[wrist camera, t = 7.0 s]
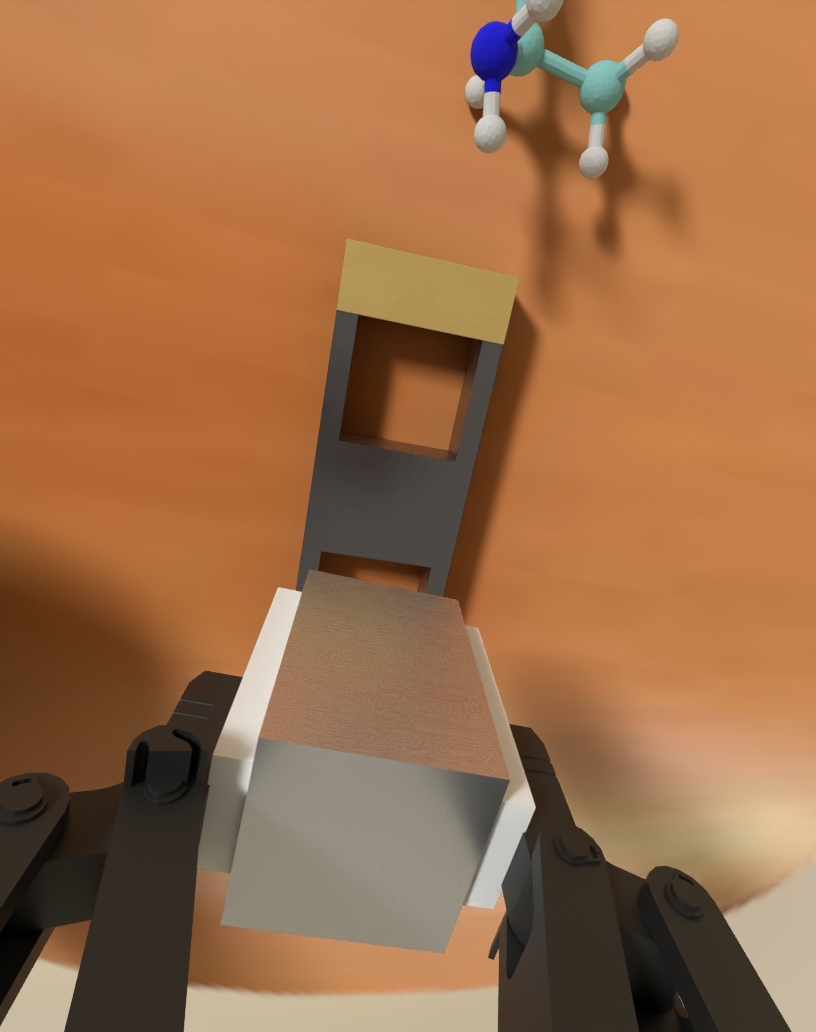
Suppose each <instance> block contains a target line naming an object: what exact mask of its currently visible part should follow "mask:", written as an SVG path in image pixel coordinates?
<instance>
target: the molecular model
mask: <svg viewBox="0 0 816 1032" xmlns="http://www.w3.org/2000/svg"><path fill="white" fill-rule="evenodd" d="M563 1H564V0H516V12H515V16H514V17H513V18H512V20H511V21H510V22H509V23H508V24H505V23H502V22H497V21H495V22H490V23H488V24H486V25H485V26H484V27H482V28H481V29H480V30H479V32H478V33H477V35H476V37H475V38H474V40H473V42H472V47H471V64H472V67H473V70H474V72H475V73H476V74H477V75H475V76H473V77H472V78H471V79H470V80H469V82H468V83H467V85H466V89H465V98H466V101H467V103H468V104H469V105H470V106H471V107H472V108H475V109H481V108H483V117H482V118H481V119H480V120H479V122H478V123H477V125H476V127H475V132H474V139H475V143H476V146H477V147H478V148H479V149H480V150H481V151H482V152H485V153H493V152H495V151H497V150H499V149H500V148H501V146H502V145H503V144H504V142H505V138H506V134H507V133H506V126H505V123H504V121H503V120H502V119H501V118H500V117H499V113H500V95H501V81H502V80H503V79H504V78H506V77H507V76H508V75H509V74H510V75H512V76H524V75H526V74H528V73H530V72H531V71H532V70H533V69H535V67H538V68H540V69H542V70H544V71H546V72H548V73H551V74H553V75H555V76H557V77H559V78H561V79H563V80H565V81H567V82H569V83H571V84H573V85H575V86H577V87H579V99H580V103H581V105H582V107H583V108H584V109H585V110H586V111H587V112H588V113H590V114H591V124H590V134H589V144H588V149H587V150H586V151H585V152H584V153H583V154H582V156H581V158H580V161H579V168H580V172H581V173H582V174H583V176H584V177H586V178H589V179H594V178H597V177H599V176H600V175H602V174H603V172H604V171H605V170H606V168H607V166H608V161H609V158H608V154H607V152H606V150H605V149H604V148H603V140H604V131H605V122H606V113H607V112H609V111H610V110H612V109H613V108H615V106H616V105H617V104H618V102H619V101H620V99H621V98H622V95H623V92H624V89H625V84H626V78H628V77H629V76H630V75H631V74H633V73H634V72H635V71H636V70H638V69H639V68H640V67H641V66H643V65H644V64H645V63H646V62H648V61H649V60H652V61H661V60H663V59H665V58H666V57H667V56H669V55H670V54H671V52H672V51H673V50H674V48H675V47H676V44H677V42H678V28H677V25H676V24H675V23H674V22H673V21H672V20H670V19H661V20H659V21H657V22H655V23H654V24H653V25H652V26H651V27H650V28H649V29H648V31H647V32H646V35H645V37H644V41H643V44H642V45H641V46H640V47H638V48H637V49H636V50H635V51H634V52H632V53H631V54H630V55H629V56H628V57H626V58H625V59H624V60H623V61H622V62H620V63H619V64H617V63H616V62H614V61H611V60H601V61H599V62H597V63H595V64H593V65H592V66H591V67H590V68H589V69H588V70H586V69H584V68H582V67H580V66H578V65H576V64H574V63H572V62H570V61H568V60H566V59H564V58H562V57H560V56H558V55H556V54H554V53H552V52H550V51H548V50H546V49H544V37H543V33H542V30H541V28H540V26H539V25H538V24H537V23H536V22H540V23H542V22H547V21H550V20H551V19H553V18H554V17H555V16H556V15H557V13H558V12H559V10H560V9H561V7H562V4H563Z"/></svg>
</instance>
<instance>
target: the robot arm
mask: <svg viewBox="0 0 816 1032" xmlns="http://www.w3.org/2000/svg"><path fill="white" fill-rule="evenodd" d="M301 594H302V592H299V591H295V590H290V589H285V588H280V587H278V589H277V592H276V594H275V597H274V599H273V602H272V604H271V607H270V610H269V612H268V615H267V617H266V620H265V622H264V625H263V627H262V630H261V633H260V635H259V638H258V640H257V643H256V645H255V648H254V650H253V653H252V656H251V658H250V661H249V663H248V666H247V668H246V671H245V673H244V676H243V677H238V676H232V675H227V674H221V673H216V672H210V671H204V672H203V673H202V674H200V675H199V676H198V677H196V678H195V679H193V680H192V681H191V682H189V684H188V686H187V688H186V690H185V692H184V694H183V695H182V697H181V700H180V701H179V703H178V705H177V707H176V708H175V710H174V714H172V716H171V718H170V720H169V722H168V723H167V725H162V726H157V727H154V728H152V729H149V730H147V731H144V732H143V733H142V734H141V735H139V736H138V737H137V738H136V739H134V740H133V742H132V744H131V746H130V747H129V749H128V751H127V760H126V769H125V777H124V782H123V783H120V784H118V785H115V786H112V787H109V788H104V789H99V790H92V791H83V792H74V793H69V787H68V785H67V784H66V783H65V782H64V781H63V780H62V779H61V778H59V777H56V776H53V775H50V774H48V773H27V774H22V775H18V776H14V777H10V778H8V779H6V780H4V781H2V782H0V1026H1V1024H2V1022H3V1020H4V1018H5V1017H6V1015H7V1013H8V1011H9V1009H10V1007H11V1006H12V1004H13V1002H14V1000H15V998H16V997H17V995H18V993H19V991H20V989H21V988H22V986H23V984H24V982H25V980H26V979H27V977H28V975H29V973H30V971H31V969H32V968H33V966H34V964H35V962H36V961H37V959H38V957H39V955H40V953H41V952H42V950H43V948H44V946H45V944H46V943H47V941H48V939H49V937H50V935H51V933H52V932H53V930H54V928H55V927H57V926H62V925H67V924H72V923H77V922H82V921H87V920H91V923H90V928H89V932H88V936H87V940H86V944H85V948H84V952H83V956H82V961H81V965H80V969H79V973H78V977H77V981H76V985H75V989H74V994H73V998H72V1002H71V1006H70V1010H69V1014H68V1018H67V1022H66V1027H65V1031H64V1032H184V1019H185V1007H186V996H187V984H188V971H189V959H190V947H191V935H192V922H193V910H194V898H195V886H196V873H197V869H203V870H211V871H218V872H225V873H231V869H232V864H233V859H234V854H235V849H236V845H237V840H238V835H239V830H240V825H241V820H242V815H243V810H244V805H245V800H246V795H247V791H248V786H249V781H250V776H251V771H252V766H253V761H254V756H255V751H256V746H257V741H258V737H259V734H260V730H261V727H262V724H263V720H264V717H265V714H266V710H267V707H268V704H269V700H270V697H271V694H272V690H273V687H274V684H275V680H276V677H277V674H278V671H279V667H280V664H281V661H282V657H283V654H284V651H285V647H286V644H287V641H288V637H289V634H290V631H291V627H292V624H293V621H294V617H295V614H296V611H297V607H298V604H299V601H300V598H301ZM465 626H466V629H467V633H468V636H469V640H470V643H471V647H472V650H473V653H474V657H475V660H476V664H477V667H478V671H479V674H480V678H481V681H482V684H483V688H484V691H485V695H486V698H487V702H488V705H489V709H490V712H491V715H492V719H493V722H494V726H495V729H496V733H497V736H498V740H499V743H500V746H501V750H502V753H503V757H504V760H505V764H506V767H507V771H508V774H509V777H510V782H509V785H508V787H507V790H506V793H505V795H504V798H503V800H502V803H501V806H500V808H499V811H498V813H497V816H496V819H495V821H494V824H493V827H492V829H491V832H490V834H489V837H488V840H487V842H486V845H485V847H484V850H483V853H482V855H481V858H480V861H479V863H478V866H477V868H476V871H475V874H474V876H473V879H472V881H471V884H470V887H469V889H468V892H467V894H466V897H465V900H464V902H463V905H467V906H475V907H482V908H489V909H494V907H495V904H496V902H497V899H498V897H499V895H500V892H501V890H502V891H503V895H504V900H505V905H506V909H507V910H506V912H505V915H504V917H503V919H502V922H501V924H500V926H499V929H498V931H497V933H496V936H495V938H494V940H493V943H492V945H491V948H490V952H489V956H488V958H490V959H493V960H494V958H495V955H496V953H497V951H498V949H499V996H498V998H499V999H498V1032H791V1030H790V1028H789V1027H788V1025H787V1023H786V1022H785V1020H784V1018H783V1017H782V1015H781V1013H780V1012H779V1010H778V1008H777V1006H776V1005H775V1003H774V1001H773V1000H772V998H771V996H770V995H769V993H768V991H767V990H766V988H765V986H764V985H763V983H762V981H761V979H760V978H759V976H758V974H757V972H756V971H755V969H754V967H753V966H752V964H751V962H750V961H749V959H748V957H747V956H746V954H745V952H744V950H743V949H742V947H741V945H740V944H739V942H738V940H737V939H736V937H735V935H734V934H733V932H732V930H731V928H730V927H729V925H728V924H727V922H726V920H725V918H724V917H723V915H722V913H721V911H720V910H719V908H718V906H717V905H716V903H715V902H714V900H713V899H712V898H711V896H710V895H709V894H708V892H707V891H706V890H705V889H704V888H703V887H702V886H701V885H700V884H699V883H697V882H696V881H695V880H694V879H693V878H692V877H690V876H688V875H687V874H685V873H683V872H682V871H680V870H677V869H674V868H671V867H668V866H660V867H655V868H654V869H653V870H652V871H650V872H649V874H648V876H647V878H646V880H645V879H643V878H641V877H638V876H636V875H634V874H632V873H629V872H627V871H625V870H623V869H620V868H618V867H616V866H614V865H612V864H611V863H609V862H607V861H606V860H605V858H604V855H603V853H602V850H601V849H600V847H599V846H598V845H597V843H596V842H595V841H594V839H593V838H592V837H590V836H589V835H588V834H587V833H586V832H584V831H583V830H582V829H580V828H578V827H576V825H575V822H574V820H573V817H572V815H571V812H570V810H569V807H568V805H567V802H566V799H565V797H564V794H563V792H562V789H561V787H560V784H559V781H558V779H557V778H556V777H555V775H556V774H555V771H554V769H553V766H552V764H550V758H549V756H548V753H547V751H546V748H545V746H544V743H543V742H542V741H541V740H540V739H539V738H538V736H537V735H536V734H535V733H534V732H533V730H532V729H531V728H528V727H522V726H517V725H511V724H509V723H508V719H507V716H506V713H505V710H504V707H503V704H502V701H501V698H500V695H499V691H498V688H497V685H496V682H495V679H494V676H493V673H492V670H491V667H490V663H489V660H488V657H487V654H486V651H485V648H484V645H483V642H482V639H481V636H480V632H479V629H478V628H477V627H472V626H468V625H465ZM679 996H680V997H679ZM680 998H681V1000H682V1002H683V1004H682V1002H681V1000H680ZM683 1005H684V1006H683ZM684 1007H685V1008H684ZM685 1009H686V1010H685Z"/></svg>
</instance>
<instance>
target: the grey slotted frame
mask: <svg viewBox="0 0 816 1032" xmlns="http://www.w3.org/2000/svg"><path fill="white" fill-rule="evenodd" d="M519 278H520V277H515V276H511V275H506V274H502V273H497V272H493V271H489V270H484V269H480V268H475V267H471V266H466V265H462V264H458V263H453V262H449V261H444V260H440V259H435V258H431V257H427V256H422V255H418V254H413V253H409V252H404V251H400V250H396V249H391V248H387V247H382V246H378V245H374V244H369V243H365V242H360V241H356V240H351V239H347V242H346V248H345V255H344V262H343V269H342V276H341V283H340V290H339V297H338V304H337V311H336V318H335V325H334V332H333V339H332V346H331V353H330V360H329V366H328V373H327V380H326V387H325V394H324V401H323V408H322V415H321V422H320V428H319V435H318V442H317V449H316V456H315V463H314V470H313V477H312V484H311V491H310V497H309V504H308V511H307V518H306V525H305V532H304V539H303V546H302V553H301V559H300V566H299V573H298V580H297V587H296V591H299V592H302V591H303V588H304V584H305V581H306V578H307V574H308V571H309V569H311V570H316V571H319V565H320V558H321V552H322V551H323V552H330V553H336V554H343V555H350V556H356V557H363V558H370V559H377V560H383V561H390V562H397V563H403V564H410V565H417V566H423V568H422V573H421V577H420V582H419V586H418V591H417V592H422V593H427V594H432V595H437V596H441V597H443V594H444V590H445V586H446V582H447V578H448V573H449V569H450V565H451V561H452V557H453V552H454V548H455V544H456V540H457V536H458V531H459V527H460V523H461V519H462V515H463V511H464V506H465V502H466V498H467V494H468V490H469V485H470V481H471V477H472V473H473V469H474V464H475V460H476V456H477V452H478V448H479V443H480V439H481V435H482V431H483V427H484V422H485V418H486V414H487V410H488V406H489V402H490V397H491V393H492V389H493V385H494V381H495V376H496V372H497V368H498V364H499V360H500V355H501V351H502V347H503V344H504V341H505V337H506V332H507V328H508V324H509V320H510V316H511V311H512V307H513V303H514V299H515V295H516V291H517V286H518V282H519ZM359 315H360V316H365V317H370V318H375V319H380V320H384V321H389V322H394V323H399V324H404V325H409V326H413V327H418V328H423V329H428V330H433V331H437V332H442V333H447V334H452V335H457V336H461V337H466V338H471V339H473V342H472V347H471V351H470V356H469V360H468V365H467V369H466V374H465V378H464V383H463V387H462V392H461V397H460V401H459V406H458V410H457V415H456V419H455V424H454V428H453V433H452V437H451V442H450V446H449V451H446V450H441V449H435V448H430V447H424V446H418V445H413V444H407V443H402V442H396V441H390V440H385V439H379V438H374V437H368V436H362V435H357V434H351V433H346V432H340V431H341V425H342V419H343V412H344V406H345V399H346V393H347V387H348V380H349V374H350V368H351V361H352V355H353V349H354V342H355V336H356V330H357V323H358V317H359Z"/></svg>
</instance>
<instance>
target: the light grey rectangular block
mask: <svg viewBox="0 0 816 1032" xmlns="http://www.w3.org/2000/svg"><path fill="white" fill-rule="evenodd" d="M509 782H510V777H509V774H508V771H507V767H506V764H505V760H504V757H503V753H502V750H501V746H500V743H499V740H498V736H497V733H496V729H495V726H494V722H493V719H492V715H491V712H490V709H489V705H488V702H487V698H486V695H485V691H484V688H483V684H482V681H481V678H480V674H479V671H478V667H477V664H476V660H475V657H474V653H473V650H472V647H471V643H470V640H469V636H468V633H467V629H466V626H465V622H464V619H463V616H462V612H461V609H460V605H459V602H458V600H456V599H451V598H446V597H441V596H437V595H432V594H427V593H422V592H417V591H412V590H408V589H403V588H398V587H393V586H388V585H384V584H379V583H374V582H369V581H364V580H360V579H355V578H350V577H345V576H340V575H335V574H331V573H326V572H321V571H316V570H311V569H309V571H308V574H307V578H306V581H305V584H304V588H303V591H302V594H301V598H300V601H299V604H298V607H297V611H296V614H295V617H294V621H293V624H292V627H291V631H290V634H289V637H288V641H287V644H286V647H285V651H284V654H283V657H282V661H281V664H280V667H279V671H278V674H277V677H276V680H275V684H274V687H273V690H272V694H271V697H270V700H269V704H268V707H267V710H266V714H265V717H264V720H263V724H262V727H261V730H260V734H259V737H258V741H257V746H256V751H255V756H254V761H253V766H252V771H251V776H250V781H249V786H248V791H247V795H246V800H245V805H244V810H243V815H242V820H241V825H240V830H239V835H238V840H237V845H236V849H235V854H234V859H233V864H232V869H231V874H230V879H229V884H228V889H227V894H226V898H225V903H224V908H223V913H222V918H221V923H220V925H223V926H231V927H239V928H246V929H254V930H262V931H270V932H278V933H286V934H294V935H302V936H310V937H318V938H326V939H334V940H341V941H349V942H357V943H365V944H373V945H381V946H389V947H397V948H405V949H413V950H421V951H429V952H436V953H444V952H445V949H446V947H447V944H448V942H449V939H450V936H451V934H452V931H453V928H454V926H455V923H456V921H457V918H458V915H459V913H460V910H461V908H462V905H463V902H464V900H465V897H466V894H467V892H468V889H469V887H470V884H471V881H472V879H473V876H474V874H475V871H476V868H477V866H478V863H479V861H480V858H481V855H482V853H483V850H484V847H485V845H486V842H487V840H488V837H489V834H490V832H491V829H492V827H493V824H494V821H495V819H496V816H497V813H498V811H499V808H500V806H501V803H502V800H503V798H504V795H505V793H506V790H507V787H508V785H509Z"/></svg>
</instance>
